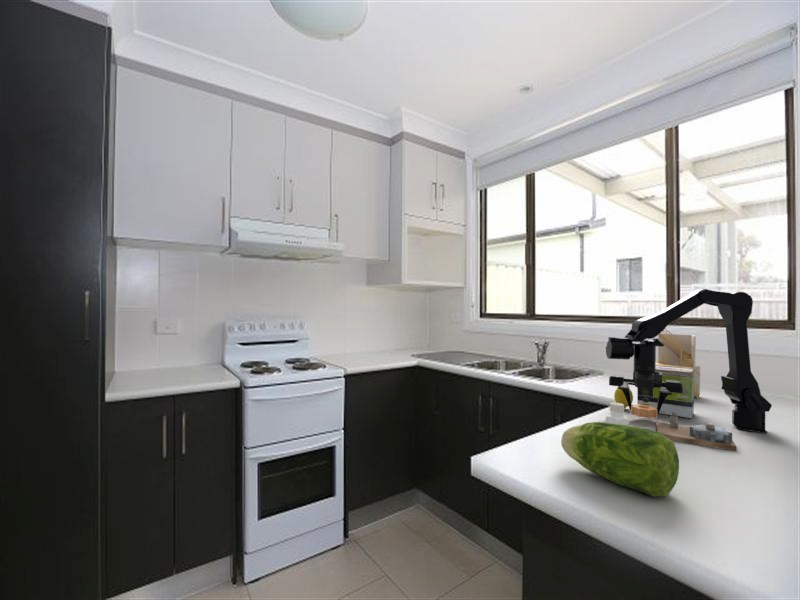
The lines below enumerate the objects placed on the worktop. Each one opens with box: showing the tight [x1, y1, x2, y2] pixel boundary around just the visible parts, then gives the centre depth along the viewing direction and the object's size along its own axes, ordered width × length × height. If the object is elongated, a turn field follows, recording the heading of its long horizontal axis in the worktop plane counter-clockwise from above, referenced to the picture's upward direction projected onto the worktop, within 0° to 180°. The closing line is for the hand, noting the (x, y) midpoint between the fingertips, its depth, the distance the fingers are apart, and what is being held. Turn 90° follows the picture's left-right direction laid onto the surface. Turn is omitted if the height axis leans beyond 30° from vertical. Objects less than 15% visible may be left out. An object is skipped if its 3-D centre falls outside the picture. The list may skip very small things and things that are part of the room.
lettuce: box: [560, 421, 680, 498], centre depth 77 cm, size 12×21×11 cm, turn 41°
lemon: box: [614, 387, 634, 409], centre depth 134 cm, size 6×6×8 cm
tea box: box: [636, 366, 695, 419], centre depth 131 cm, size 15×10×15 cm
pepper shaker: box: [604, 402, 629, 426], centre depth 100 cm, size 4×4×10 cm
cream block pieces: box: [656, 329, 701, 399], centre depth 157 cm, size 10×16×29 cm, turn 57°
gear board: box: [655, 412, 738, 452], centre depth 105 cm, size 16×13×5 cm
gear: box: [630, 403, 658, 419], centre depth 119 cm, size 7×7×2 cm
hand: (643, 411), depth 119 cm, fingers closed on gear, 7 cm apart
